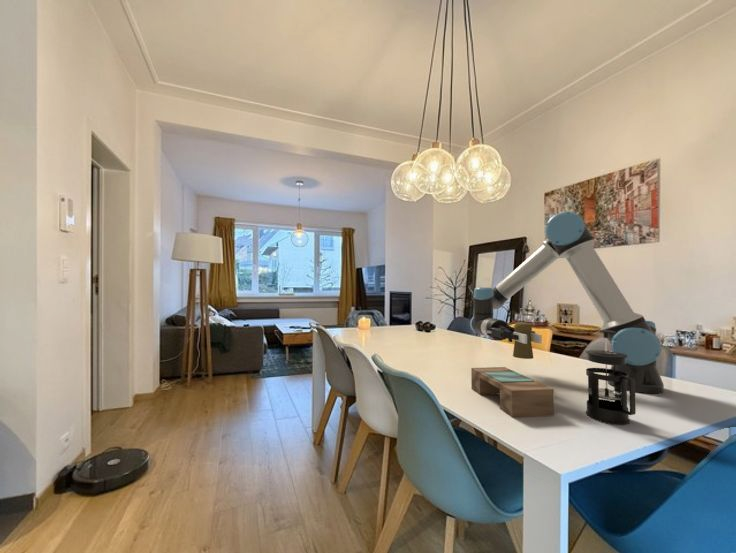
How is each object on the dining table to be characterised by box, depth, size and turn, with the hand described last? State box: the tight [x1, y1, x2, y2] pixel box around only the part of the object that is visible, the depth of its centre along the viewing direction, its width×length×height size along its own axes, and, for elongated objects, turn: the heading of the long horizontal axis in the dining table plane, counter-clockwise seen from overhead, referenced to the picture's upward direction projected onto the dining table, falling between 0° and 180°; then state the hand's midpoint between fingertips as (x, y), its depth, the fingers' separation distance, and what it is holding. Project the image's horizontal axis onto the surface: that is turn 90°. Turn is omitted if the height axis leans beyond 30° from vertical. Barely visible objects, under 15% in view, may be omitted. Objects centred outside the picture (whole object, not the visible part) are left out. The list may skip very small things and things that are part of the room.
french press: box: [585, 329, 637, 426], centre depth 86 cm, size 12×9×23 cm
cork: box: [512, 321, 534, 360], centre depth 105 cm, size 6×6×11 cm
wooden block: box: [470, 366, 555, 418], centre depth 99 cm, size 24×12×7 cm, turn 8°
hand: (533, 339), depth 100 cm, fingers closed on cork, 4 cm apart
